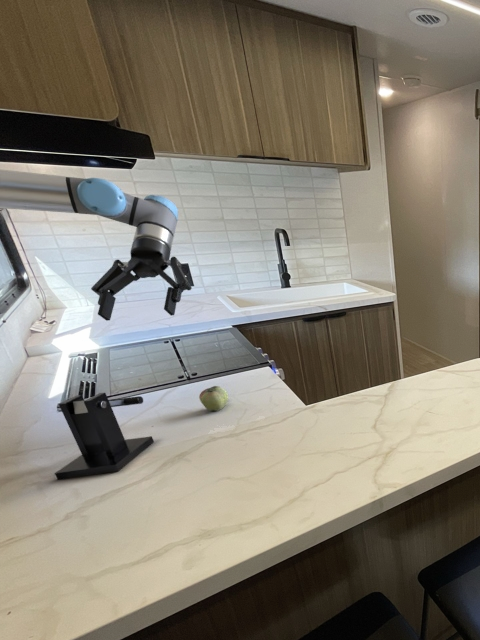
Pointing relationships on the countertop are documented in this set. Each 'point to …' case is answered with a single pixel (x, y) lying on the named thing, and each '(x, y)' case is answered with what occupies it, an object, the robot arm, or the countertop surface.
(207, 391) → the apple
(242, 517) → the countertop surface
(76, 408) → the lever
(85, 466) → the black lever stand
